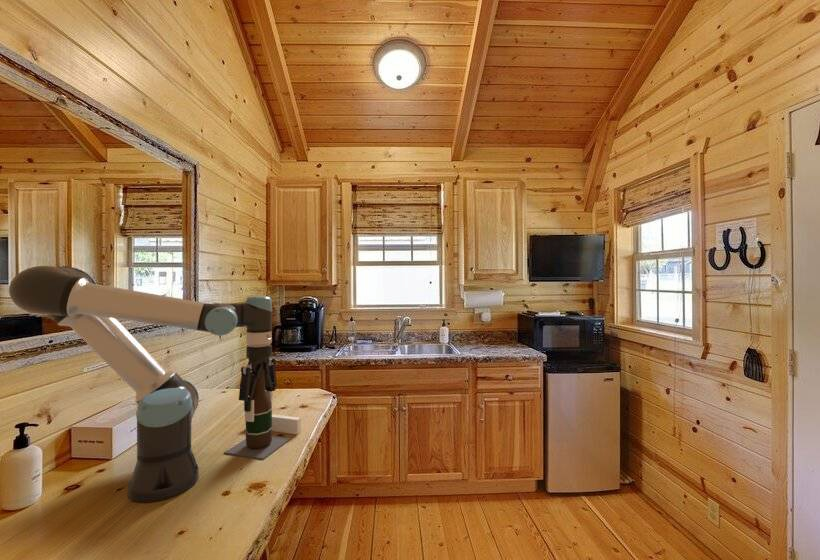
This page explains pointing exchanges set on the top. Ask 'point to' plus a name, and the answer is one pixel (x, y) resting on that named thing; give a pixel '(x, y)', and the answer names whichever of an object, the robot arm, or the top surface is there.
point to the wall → (286, 424)
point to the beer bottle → (260, 418)
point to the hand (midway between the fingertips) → (258, 415)
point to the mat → (260, 453)
